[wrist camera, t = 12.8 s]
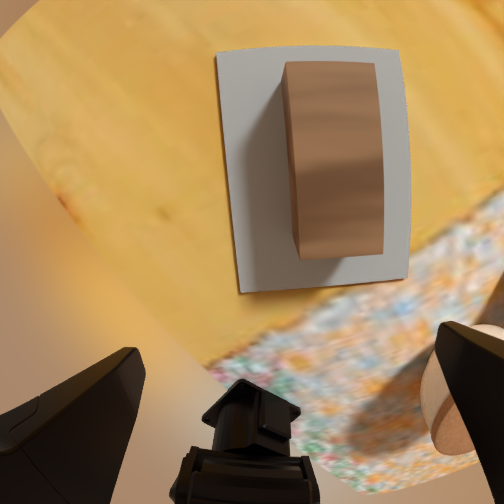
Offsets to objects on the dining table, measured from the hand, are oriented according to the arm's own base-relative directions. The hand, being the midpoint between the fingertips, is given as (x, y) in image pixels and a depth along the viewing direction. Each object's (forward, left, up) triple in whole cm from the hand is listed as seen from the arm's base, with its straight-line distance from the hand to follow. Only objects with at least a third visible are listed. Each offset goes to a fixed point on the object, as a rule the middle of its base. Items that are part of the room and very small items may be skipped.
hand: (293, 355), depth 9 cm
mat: (+5, 0, -13) cm, 14 cm away
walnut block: (+2, -3, -10) cm, 11 cm away
